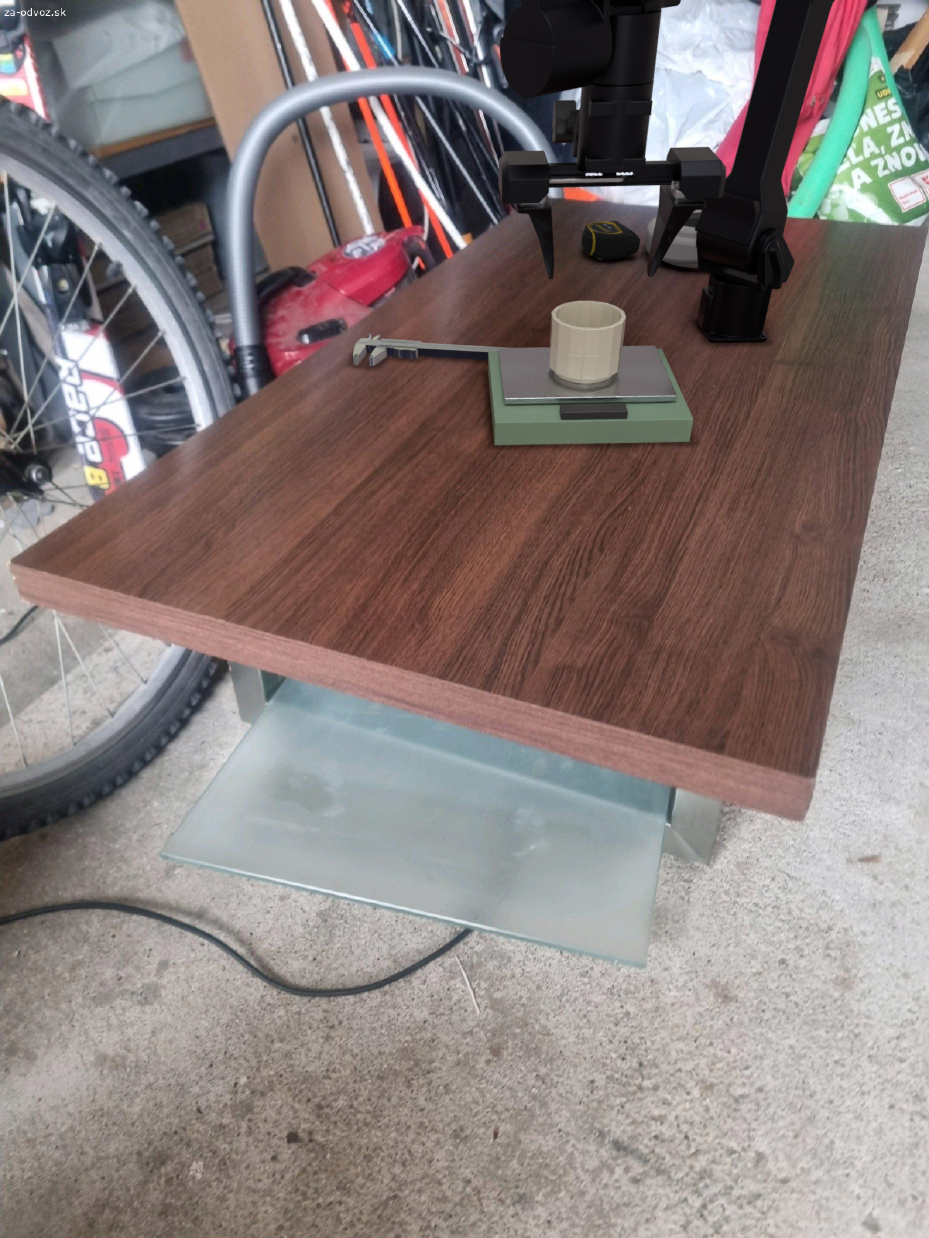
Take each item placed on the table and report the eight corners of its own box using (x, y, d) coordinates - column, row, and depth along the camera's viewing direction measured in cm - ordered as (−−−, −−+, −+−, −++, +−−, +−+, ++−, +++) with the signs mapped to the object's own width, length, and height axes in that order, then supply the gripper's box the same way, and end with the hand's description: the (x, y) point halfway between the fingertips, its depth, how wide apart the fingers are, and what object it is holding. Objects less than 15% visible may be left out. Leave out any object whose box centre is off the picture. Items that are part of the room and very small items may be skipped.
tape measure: (640, 261, 115) (643, 232, 113) (593, 267, 114) (595, 237, 111) (617, 245, 120) (620, 217, 118) (572, 250, 119) (574, 222, 116)
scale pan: (654, 351, 88) (655, 345, 88) (676, 401, 80) (677, 395, 80) (498, 353, 88) (498, 348, 88) (504, 404, 80) (504, 398, 80)
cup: (613, 354, 86) (619, 300, 83) (624, 385, 81) (630, 329, 78) (545, 355, 86) (548, 301, 83) (551, 386, 81) (555, 330, 78)
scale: (658, 370, 91) (663, 341, 89) (689, 442, 80) (695, 411, 77) (487, 373, 91) (488, 344, 89) (494, 446, 79) (495, 414, 77)
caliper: (352, 358, 91) (356, 333, 96) (353, 367, 92) (357, 342, 97) (544, 354, 92) (539, 329, 96) (544, 364, 92) (538, 339, 97)
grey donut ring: (669, 241, 125) (628, 272, 115) (673, 192, 121) (630, 220, 111) (788, 252, 117) (754, 287, 108) (796, 200, 113) (762, 231, 104)
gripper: (710, 59, 75) (682, 244, 86) (496, 63, 75) (494, 249, 85) (744, 85, 67) (709, 286, 77) (503, 90, 67) (500, 291, 77)
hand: (600, 276), depth 79 cm, fingers open, 9 cm apart
